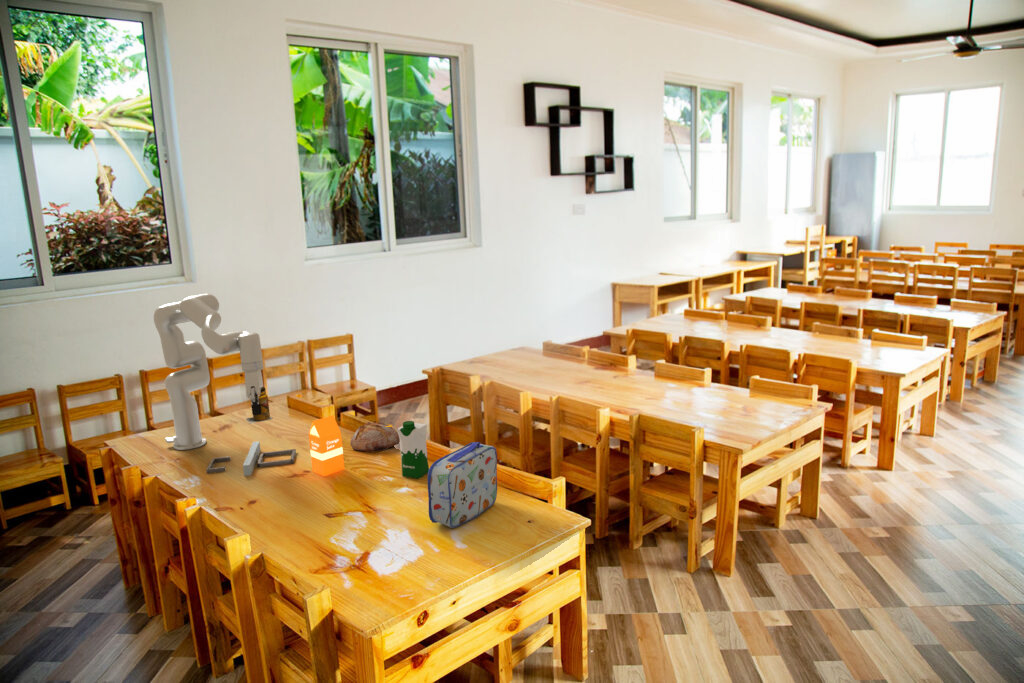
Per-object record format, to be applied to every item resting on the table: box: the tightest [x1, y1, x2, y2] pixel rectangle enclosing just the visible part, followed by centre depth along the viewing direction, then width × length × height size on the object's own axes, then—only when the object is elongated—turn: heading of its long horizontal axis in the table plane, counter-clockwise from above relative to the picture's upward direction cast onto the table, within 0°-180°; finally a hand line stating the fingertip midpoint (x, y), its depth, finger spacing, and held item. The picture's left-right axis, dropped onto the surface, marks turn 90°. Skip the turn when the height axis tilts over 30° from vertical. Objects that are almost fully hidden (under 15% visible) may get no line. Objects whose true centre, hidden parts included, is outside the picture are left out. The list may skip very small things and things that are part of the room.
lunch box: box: [427, 441, 498, 529], centre depth 219 cm, size 28×10×22 cm, turn 148°
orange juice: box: [308, 415, 345, 477], centre depth 260 cm, size 8×9×20 cm
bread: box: [349, 421, 400, 453], centre depth 285 cm, size 16×20×10 cm
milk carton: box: [396, 420, 430, 480], centre depth 253 cm, size 9×9×20 cm
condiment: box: [245, 386, 274, 424], centre depth 269 cm, size 7×8×12 cm
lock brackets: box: [205, 448, 297, 474], centre depth 273 cm, size 31×12×2 cm, turn 102°
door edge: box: [242, 440, 262, 477], centre depth 273 cm, size 2×26×4 cm, turn 12°
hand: (258, 411), depth 270 cm, fingers closed on condiment, 6 cm apart
